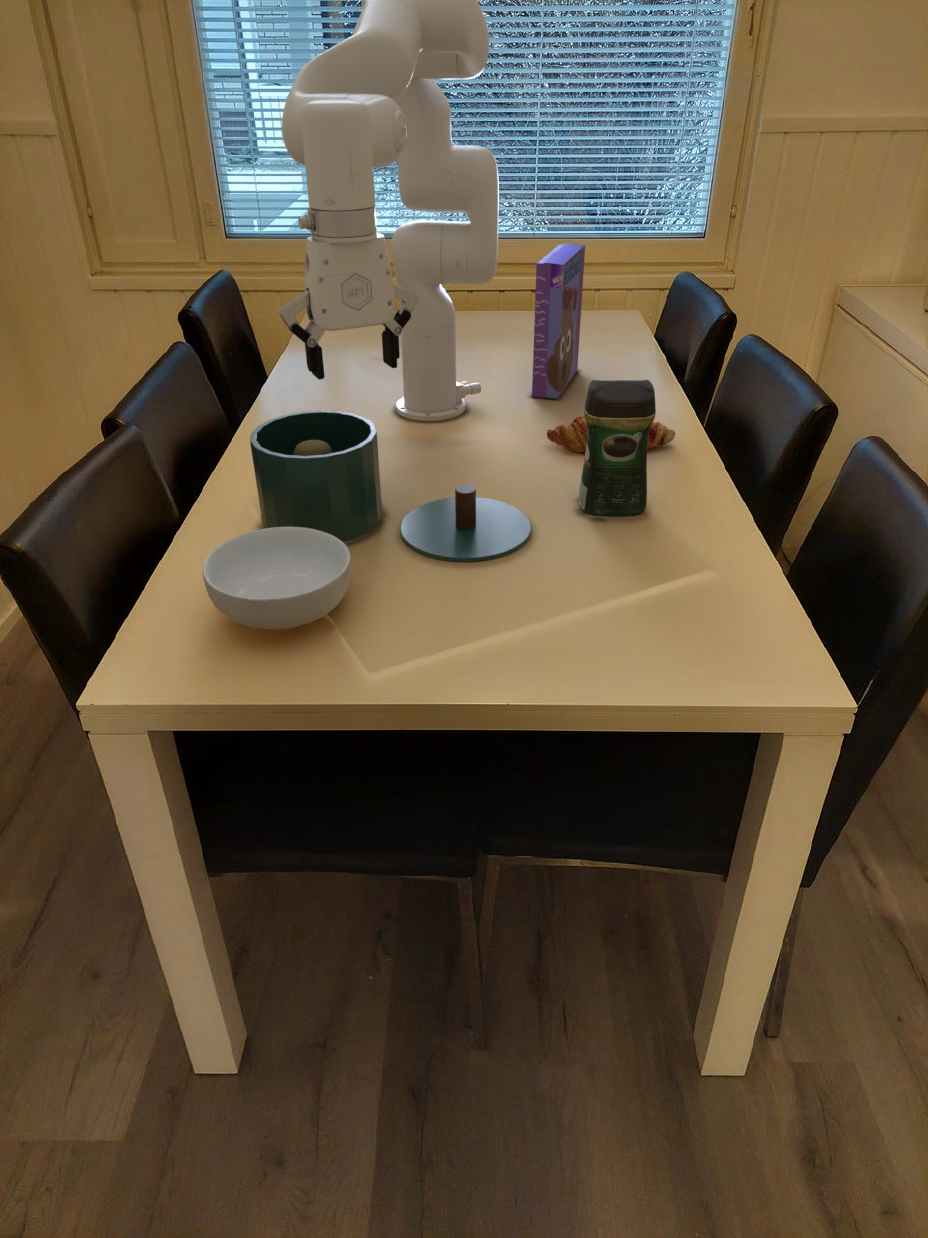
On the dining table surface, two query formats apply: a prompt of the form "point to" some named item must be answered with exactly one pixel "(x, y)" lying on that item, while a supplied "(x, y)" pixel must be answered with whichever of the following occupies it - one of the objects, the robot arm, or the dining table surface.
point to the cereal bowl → (278, 576)
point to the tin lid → (465, 528)
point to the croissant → (577, 435)
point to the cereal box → (557, 319)
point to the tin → (318, 473)
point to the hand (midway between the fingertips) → (354, 370)
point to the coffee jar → (616, 447)
